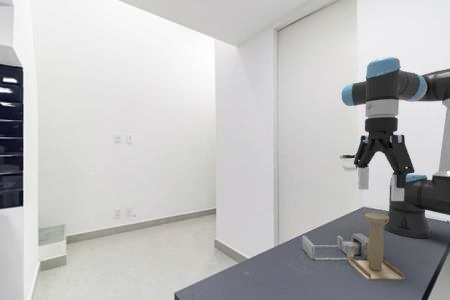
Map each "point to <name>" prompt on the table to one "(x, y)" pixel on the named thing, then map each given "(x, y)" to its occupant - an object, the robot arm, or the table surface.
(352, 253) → the silver rectangular frame
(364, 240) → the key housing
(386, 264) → the tan base plate
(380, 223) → the handle
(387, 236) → the table surface
